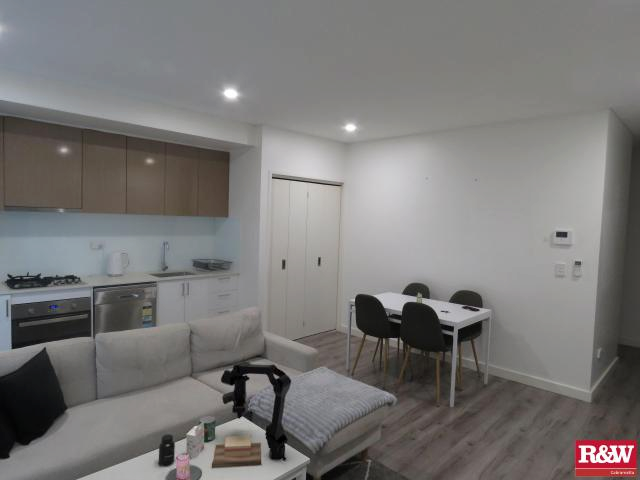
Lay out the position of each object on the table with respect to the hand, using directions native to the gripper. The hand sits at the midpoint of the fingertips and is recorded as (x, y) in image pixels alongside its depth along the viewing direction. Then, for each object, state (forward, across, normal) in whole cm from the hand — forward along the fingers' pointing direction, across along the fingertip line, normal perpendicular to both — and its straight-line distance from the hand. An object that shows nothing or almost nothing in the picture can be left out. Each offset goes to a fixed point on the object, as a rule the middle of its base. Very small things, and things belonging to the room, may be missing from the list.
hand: (239, 418), depth 204 cm
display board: (+13, +12, 0) cm, 17 cm away
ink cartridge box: (+13, +8, -20) cm, 25 cm away
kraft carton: (+12, +8, 0) cm, 15 cm away
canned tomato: (+13, -5, -16) cm, 21 cm away
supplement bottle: (+13, +13, -32) cm, 37 cm away
